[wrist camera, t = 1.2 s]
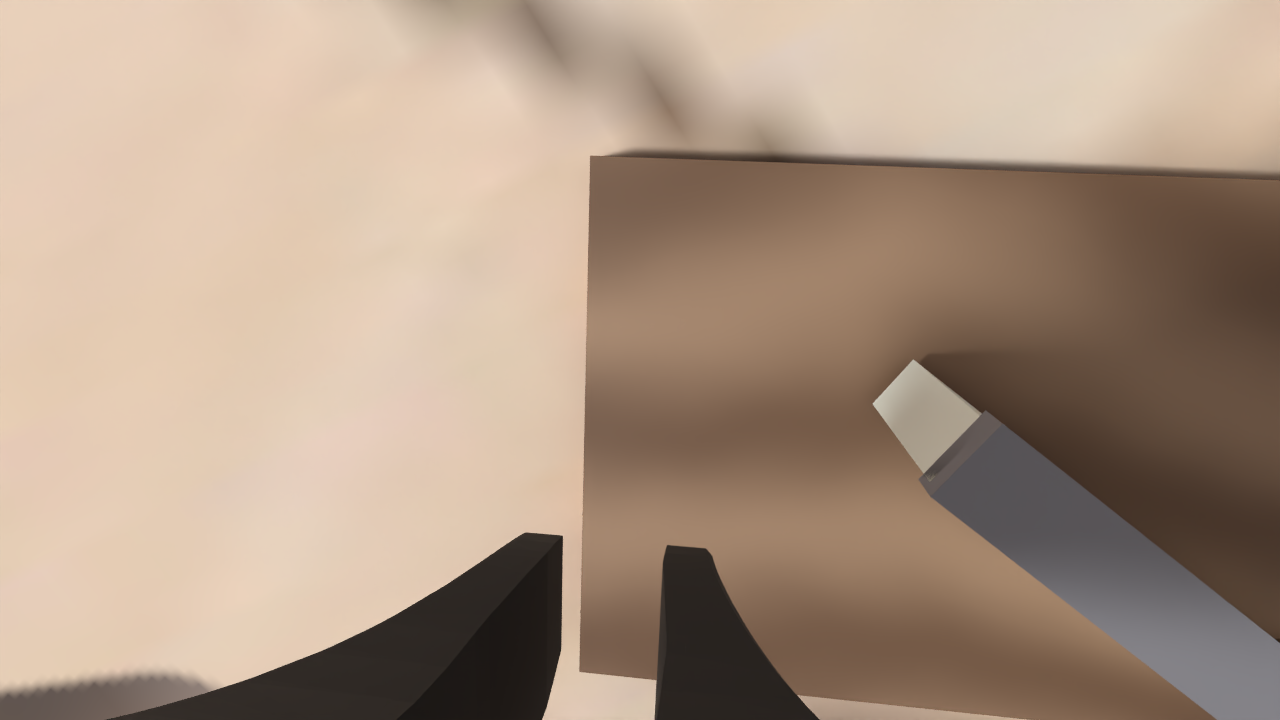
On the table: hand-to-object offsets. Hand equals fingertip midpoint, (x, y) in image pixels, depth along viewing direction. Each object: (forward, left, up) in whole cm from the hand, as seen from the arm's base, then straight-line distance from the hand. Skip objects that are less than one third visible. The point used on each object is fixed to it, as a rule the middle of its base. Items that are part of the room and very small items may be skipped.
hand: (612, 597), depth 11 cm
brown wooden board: (0, -9, -9) cm, 13 cm away
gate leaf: (-2, -11, -8) cm, 14 cm away
